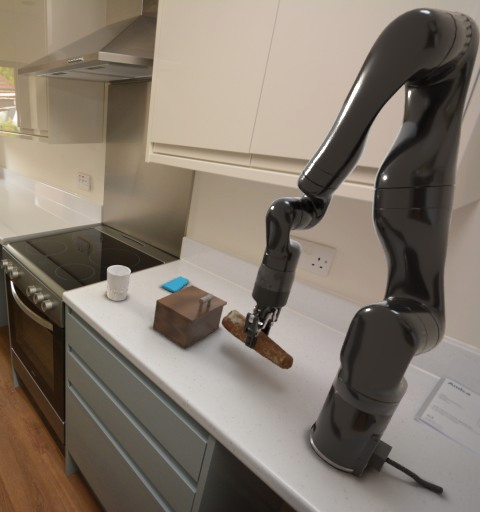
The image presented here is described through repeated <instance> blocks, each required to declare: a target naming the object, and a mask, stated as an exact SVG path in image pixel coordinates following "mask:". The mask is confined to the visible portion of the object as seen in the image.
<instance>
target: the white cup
mask: <svg viewBox="0 0 480 512" xmlns="http://www.w3.org/2000/svg"><path fill="white" fill-rule="evenodd" d="M131 272H132V271H131V268H129V267H127V266H125V265H120V264H115V265H110V266H108V267H107V269H106V296H107V298H108V299H110V300H112V301H115V302H120V301H124V300H126V299H127V296H128V295H127V294H128V291H129V285H130V281H131V280H130V279H131Z"/></svg>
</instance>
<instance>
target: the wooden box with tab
mask: <svg viewBox="0 0 480 512" xmlns="http://www.w3.org/2000/svg"><path fill="white" fill-rule="evenodd" d="M156 303H158V304H159V305H161V306H163V307H165V308H166V309H168V310H170V311H172V312H173V313H175V314H177V315H178V316H180V317H182V318H184V319H185V320H187V321H189V322H190V323H193V322H195V321H197V320H199V319H201V318H202V317H204V316H206V315H208V314H210V313H212V312H213V311H215V310H217V309H219V308H221V307H223V308H224V306H227V305H228V301H226V300H224V299H222V298H220V297H217V296H216V295H214V294H213V293H209V292H208V291H205V290H203V289H201V288H200V287H197V286H195V285H194V284H191V285H189V286H186V287H183V288H181V289H180V290H179V291H177V292H172V293H169V294H168V295H165V296H163V297H161V298H159V299H156V302H155V304H156Z"/></svg>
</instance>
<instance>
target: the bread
mask: <svg viewBox="0 0 480 512" xmlns="http://www.w3.org/2000/svg"><path fill="white" fill-rule="evenodd" d="M221 319H222V320H221V325H222V327H223V329H225V330H226V331H227V332H228V333H229V334H230V335H232V336H233V337H235V338H236V339H238V340H239V341H241V343H243V344H245V341H246V338H247V334H245V333H243V331H244V326H245V321H246V315H245V316H244V314H242V313H240V312H239V311H238V310H237V309H233V310H230V311H229V312H228V313H227V315H225V316H223V317H222V318H221ZM257 329H258V327H257ZM252 350H253V351H254V352H256V353H258V354H259V355H260V356H262V357H263V358H265V359H266V360H268V361H269V362H271V363H273V364H274V365H276V366H277V367H278V368H280V369H282V370H289V369H290V368H292V367H293V364H294V357H293V356H292V355H291V354H289V353H288V351H286V350H285V349H283V348H282V347H281V346H280V345H279V344H278V343H277V342H276V341H275V340H273V339H272V338H271V337H270V336H269V335H268V336H267V335H266V334H265V333H264V332H263V331H260V333H259V336H258V338H257V341H256V345H255V348H253V349H252Z"/></svg>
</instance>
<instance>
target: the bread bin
mask: <svg viewBox="0 0 480 512" xmlns="http://www.w3.org/2000/svg"><path fill="white" fill-rule="evenodd" d="M223 312H224V306H223V307H221V308H219V309H217V310H215V311H213V312H212V313H210V314H208V315H206V316H204V317H202V318H201V319H199V320H197V321H195V322H193V323H190V322H189V321H187V320H185V319H184V318H182V317H180V316H178V315H177V314H175V313H173V312H172V311H170V310H168V309H166V308H165V307H163V306H161V305H159V304H158V303H156V302H155V309H154V317H153V322H152V323H153V324H152V329H153V330H155V331H156V332H158V333H159V334H161V335H162V336H163V337H165V338H167V339H168V340H170V341H171V342H173V343H174V344H176V345H177V346H179V347H180V348H182V349H183V350H184V349H187V348H188V347H190V346H191V345H193V344H195V343H197V342H198V341H201V339H204V338H205V337H207V336H208V335H210V334H211V333H214V332H215V331H217V330H218V329H219V327H220V323H221V319H222V315H223Z"/></svg>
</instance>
